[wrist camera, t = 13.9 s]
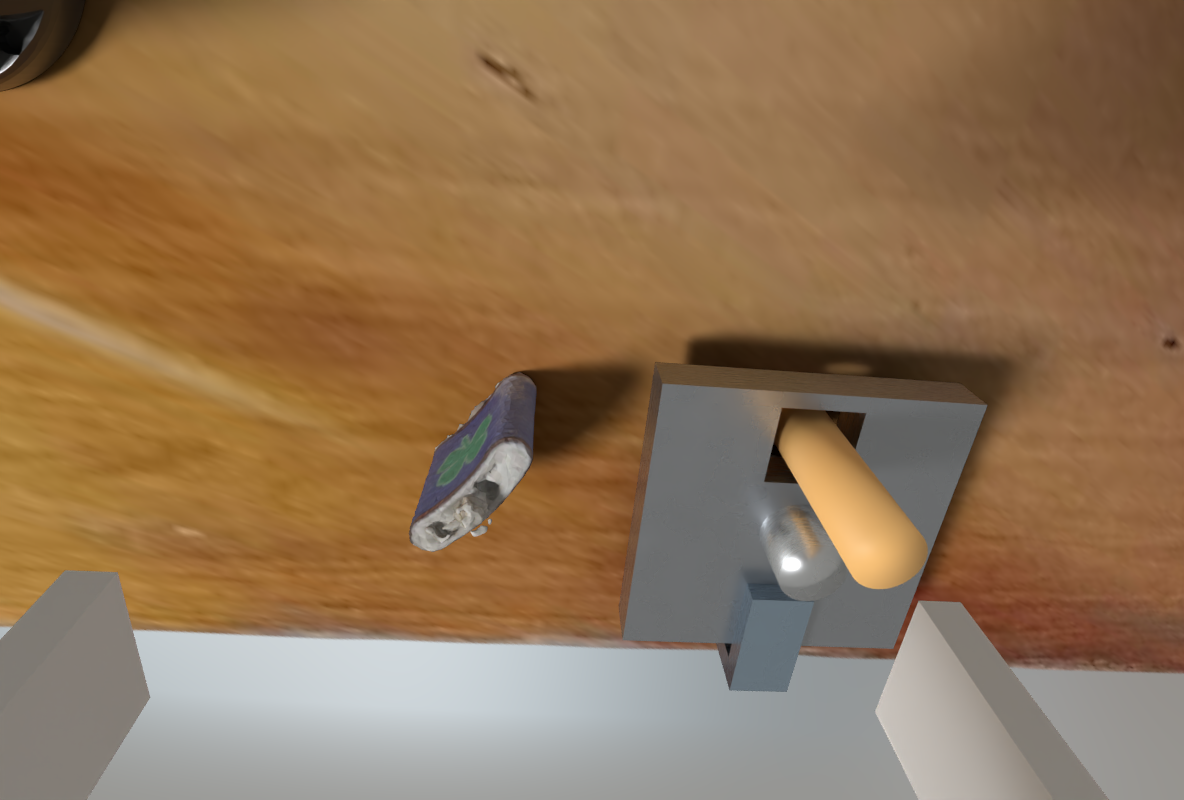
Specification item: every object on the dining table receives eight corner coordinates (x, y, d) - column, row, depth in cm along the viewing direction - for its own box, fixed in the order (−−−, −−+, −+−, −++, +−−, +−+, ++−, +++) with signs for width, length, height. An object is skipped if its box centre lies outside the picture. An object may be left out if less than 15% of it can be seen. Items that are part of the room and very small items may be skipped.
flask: (516, 363, 44) (506, 450, 34) (550, 391, 45) (550, 484, 35) (424, 456, 46) (391, 561, 37) (458, 481, 47) (435, 589, 38)
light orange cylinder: (761, 375, 45) (861, 524, 31) (815, 379, 45) (938, 528, 31) (751, 424, 47) (840, 587, 32) (802, 427, 47) (914, 590, 33)
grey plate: (648, 343, 44) (674, 417, 35) (935, 363, 45) (1030, 439, 36) (611, 607, 53) (623, 719, 44) (849, 616, 55) (907, 725, 46)
